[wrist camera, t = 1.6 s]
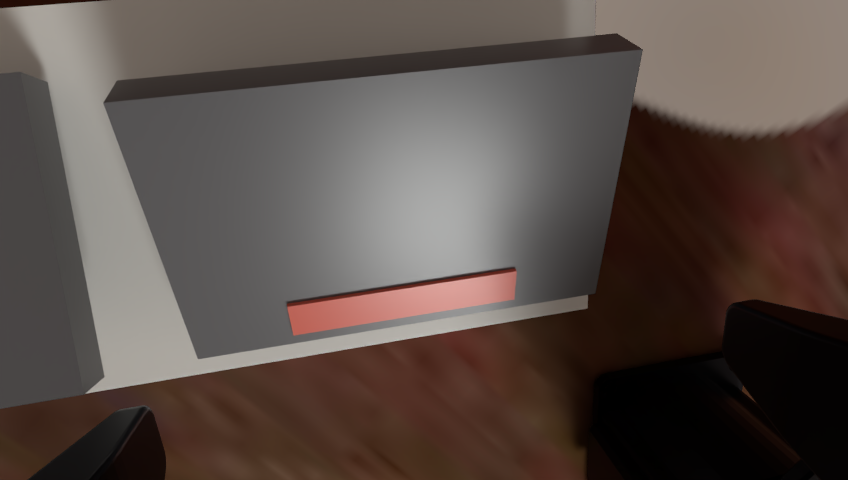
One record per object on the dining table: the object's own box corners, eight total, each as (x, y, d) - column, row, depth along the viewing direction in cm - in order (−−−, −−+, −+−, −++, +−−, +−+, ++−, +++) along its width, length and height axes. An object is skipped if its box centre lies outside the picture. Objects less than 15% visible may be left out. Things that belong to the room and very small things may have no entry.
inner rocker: (616, 33, 14) (645, 51, 12) (577, 268, 18) (597, 296, 17) (117, 80, 12) (101, 105, 11) (202, 327, 16) (197, 362, 15)
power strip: (550, -32, 18) (612, -46, 14) (550, 271, 21) (599, 320, 18) (-438, 41, 14) (-687, 47, 10) (-231, 395, 18) (-365, 486, 14)
